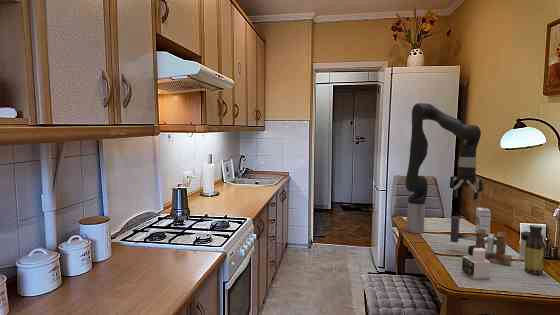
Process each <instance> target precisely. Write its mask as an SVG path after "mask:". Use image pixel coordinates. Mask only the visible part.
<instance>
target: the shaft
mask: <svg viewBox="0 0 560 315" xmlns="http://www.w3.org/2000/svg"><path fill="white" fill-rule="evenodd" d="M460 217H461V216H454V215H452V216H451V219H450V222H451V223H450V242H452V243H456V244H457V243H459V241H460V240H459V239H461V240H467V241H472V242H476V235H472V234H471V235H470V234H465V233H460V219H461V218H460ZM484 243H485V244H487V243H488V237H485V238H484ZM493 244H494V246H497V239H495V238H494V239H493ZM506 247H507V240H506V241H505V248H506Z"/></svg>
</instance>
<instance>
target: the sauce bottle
mask: <svg viewBox="0 0 560 315" xmlns="http://www.w3.org/2000/svg"><path fill="white" fill-rule="evenodd" d="M542 230H543V226H541V225H538V224H530V225H529V232H530V236H529V237H528V239H527V240H526V247H525V261H524V271H525V272H526V273H529V274H532V275H542V274H543V273H544V272H543V270H544V264H545V242H544V239H543V240H542V239H541V235H542Z"/></svg>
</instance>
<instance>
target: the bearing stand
mask: <svg viewBox="0 0 560 315" xmlns="http://www.w3.org/2000/svg"><path fill="white" fill-rule="evenodd" d="M475 234H476V235H475V236H476V241H475V246H480V247H482V248H484V249H485V259H486V260H488V261H490V264H491V263H492V264H497V265H501V266H506V267H511V266H512V265H511V264H512V255H511V254H510V255H509V254H506V247H505V241H507V232H500V231H498V232H497V235H496V240H497V245H495V246H496V247H495V248H496V249H495V251H496V252H494V251H493V252H492V253H488V252H487V250H486V243H484V238H486V230H483V229H478V231H477V232H476V233H475Z"/></svg>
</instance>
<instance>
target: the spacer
mask: <svg viewBox="0 0 560 315" xmlns="http://www.w3.org/2000/svg"><path fill="white" fill-rule="evenodd" d="M487 238H488V243H486V244H487V245H486V246H487V247H486V251H487V252H488V253H492V252H494V248H495V245H494V244H493V239H495V233H494V234H493V233H490V234H489V235H487Z"/></svg>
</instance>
